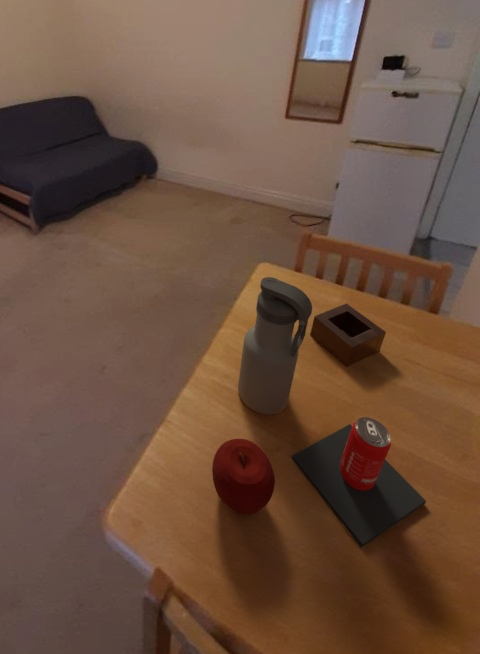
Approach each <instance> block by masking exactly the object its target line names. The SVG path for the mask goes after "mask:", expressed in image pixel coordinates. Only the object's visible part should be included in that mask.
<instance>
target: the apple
mask: <svg viewBox="0 0 480 654" xmlns="http://www.w3.org/2000/svg"><path fill="white" fill-rule="evenodd" d="M211 474H212V482H213V486H214V489H215V492H216V494H217V496H218V498H219V499H220V500H221V502H222V503H223V504H224V505H225V506H226V507H227V508H228V509H230V510H231V511H232V512H234V513H237V514H239V515H243V516H251V515H255V514H257V513H259V512H260V511H262V510H263V509H264V508H266V506H267V505H268V503H269V502H270V501H271V499H272V497H273V494H274V492H275V484H276V477H275V471H274V468H273V465H272V463H271V460H270V459H269V457H268V455H267V454H266V452H265V451H264V450H263V448H262V447H260V446H259V445H258V444H256V443H255V442H254V441H251V440H249V439H246V438H232V439H229V440H226V441H225V442H223V443H222V444H221V445H220V446H219V447H218V448H217V450H216V452H215V454H214V457H213V459H212V467H211Z"/></svg>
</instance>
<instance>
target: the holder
mask: <svg viewBox="0 0 480 654" xmlns="http://www.w3.org/2000/svg"><path fill="white" fill-rule="evenodd" d="M386 334H387V332H386V331H385V330H384V329H383V328H381V327H380V326H378V325H377V324H376V323H374V322H373V321H372V320H370V319H369V318H367V317H366V316H365V315H364V314H362V313H361V312H359V311H358V310H356V309H355V308H354V307H352V306H351V305H349V303H346V302H345V303H343V304H341V305H338V306H336V307H333V308H331V309H328V310H326V311H323V312H322V313H319V314H316V315H314V317H313V321H312V325H311V330H310V334H309V335H310V337H312V338H313V340H315V341H316V342H317V343H318V344H319V345H321V346H322V347H323V348H324V349H325V350H326V351H327V352H328V353H330V354H331V355H332V356H333V357H334V358H335V359H337V360H338V361H339V362H340V363H341V364H342V365H343V366H344V367H345V368H348V367H350V366H352V365H354V364H357V363H358V362H360V361H363V360H365V359H367V358H369V357H371V356H374V355H376V354H377V353H380V351H381V348H382V346H383V344H384V343H383V342H384V339H385V337H386Z"/></svg>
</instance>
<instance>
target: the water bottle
mask: <svg viewBox="0 0 480 654" xmlns="http://www.w3.org/2000/svg"><path fill="white" fill-rule="evenodd" d="M259 286H260V292H259V293H258V295H257V299H256V300H257V301H256V306H255V310H256V311H255V313H256V317H255V324H254V325H253V326H252V327H250V328H249V329H248V330H247V331H246V333H245V335H244V338H243V344H242V352H241V358H240V359H241V360H240V368H239V373H238V375H239V376H238V383H237V391H238V395H239V397H240V399H241V400H242V402H243V403H244V405H246V407H248V408H249V409H250V410H252V411H253V412H256V413H258V414H260V415H266V416H270V415H272V416H273V415H277V414H279V413H281V412H283V411H284V410H285V409H286V407H287V406H288V402H289V399H290V394H291V389H292V384H293V381H294V376H295V371H296V367H297V362H298V359H299V358H298V357H299V350H300V347H301V346H302V344H303V341H304V339H305V336H306V331H307V328H308V323H309V319H310V317H311V315H312V312H313V304H312V302H311V299H310V298H309V297H308V295H307V294H306V293H305V292H304V291H303V290H302V289H300V288H298V287H297V286H295V285H293V284H290V283H288V282H285V281H282V280H280V279H278V278H275V277H272V276H266V277H263V278H262V279H261V280H260V285H259ZM297 321H298V326H297V331H296V332H295V334H294V328H295V324H296V323H297ZM293 334H294V336H293Z"/></svg>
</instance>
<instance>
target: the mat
mask: <svg viewBox="0 0 480 654" xmlns="http://www.w3.org/2000/svg"><path fill="white" fill-rule="evenodd" d="M352 426H353V424H352V425H351V424H350V423H349V424H348V425H346V426H344V427H342V428H340V429H338V430H337V431H335V432H332V433H331V434H329V435H327V436H326V437H324V438H322V439H320V440H318V441H316V442H314V443H312V444H310V445H309V446H307V447H304V448H303V449H301V450H298V452H296V453H294V454H292V456H291V461H292V462H293V463H294V464H295V465H296V467H297V468H298V469H299V471H300V472H301V473H302V474H303V476H304V477H305V478H306V479H307V481H308V482H309V483H310V485H311V486H312V487H313V489H314V490H315V491H316V492H317V493H318V495H319V496H320V497H321V499H322V500H323V501H324V503H326V505H327V506H328V508H329V509H330V510H331V511H332V513H333V514H334V516H336V518H337V519H338V521H339V522H340V523H341V524H342V526H343V527H344V529H346V530H347V532H348V533H349V534H350V535H351V537H352V538H353V540H354V541H355V542H356V543H357V544H358V546H359V547H360V548H362V549H363V548H364V547H366V545H368V544H369V543H371V542H372V541H374V540H375V539H377V538H378V537H380V536H381V535H383V534H384V533H385V532H387V531H388V530H390V529H391V528H392V527H394V526H396V525H397V524H398V523H400V522H402V521H403V520H404V519H406V518H407V517H408V516H410V515H412V514H413V513H415V512H416V511H417V510H419V509H420V508H421V507H423V506H424V505H425V504H426V503H427V500H426V499H425V498H424V497H423V496H422V495H421V494H420V493H419V492H418V491H417V490H416V489H415V488H414V487H413V486H412V485H411V484H410V483H409V482H408V481H407V480H406V479H405V477H403V476H402V475H401V473H399V472H398V471H397V470H396V469H395V468H394V467H393V466H392V465H391V463H389V462H388V461H387V460H386V459H385V461H384V463H383V465H382V468H381V470H380V473H379V475H378V477H377V480H376V482H375V484H374V486H373V487H372V488H371V489H369V490H366V491H358V490H356V489H354V488H352V487H350V486H349V485H348V484H347V483H346V482H345V480H344V479H343V477H342V474H341V471H340V461H341V458H342V455H343V452H344V449H345V447H346V444H347V441H348V438H349V435H350V432H351V429H352Z"/></svg>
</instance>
